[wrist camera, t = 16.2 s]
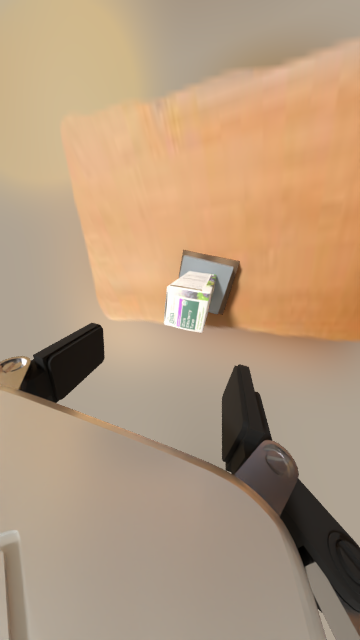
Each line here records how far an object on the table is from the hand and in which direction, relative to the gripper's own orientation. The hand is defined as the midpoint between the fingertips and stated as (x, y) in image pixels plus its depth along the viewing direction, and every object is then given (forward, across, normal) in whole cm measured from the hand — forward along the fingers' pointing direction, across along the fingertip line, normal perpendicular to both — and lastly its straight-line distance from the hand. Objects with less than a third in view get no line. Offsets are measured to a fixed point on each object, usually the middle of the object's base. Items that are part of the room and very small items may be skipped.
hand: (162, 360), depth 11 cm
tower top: (+28, 0, 0) cm, 28 cm away
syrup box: (+25, +1, 0) cm, 25 cm away
